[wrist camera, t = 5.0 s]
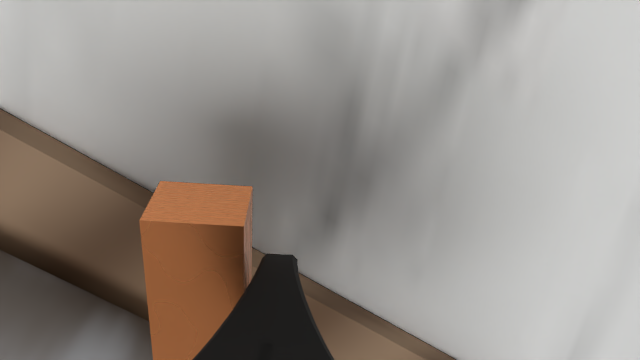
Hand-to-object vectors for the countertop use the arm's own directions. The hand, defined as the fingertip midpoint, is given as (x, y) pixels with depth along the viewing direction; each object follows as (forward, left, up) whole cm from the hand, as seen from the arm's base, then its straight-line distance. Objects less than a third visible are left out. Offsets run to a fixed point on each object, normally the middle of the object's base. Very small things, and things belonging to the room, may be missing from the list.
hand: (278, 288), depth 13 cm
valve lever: (-1, +4, 0) cm, 4 cm away
